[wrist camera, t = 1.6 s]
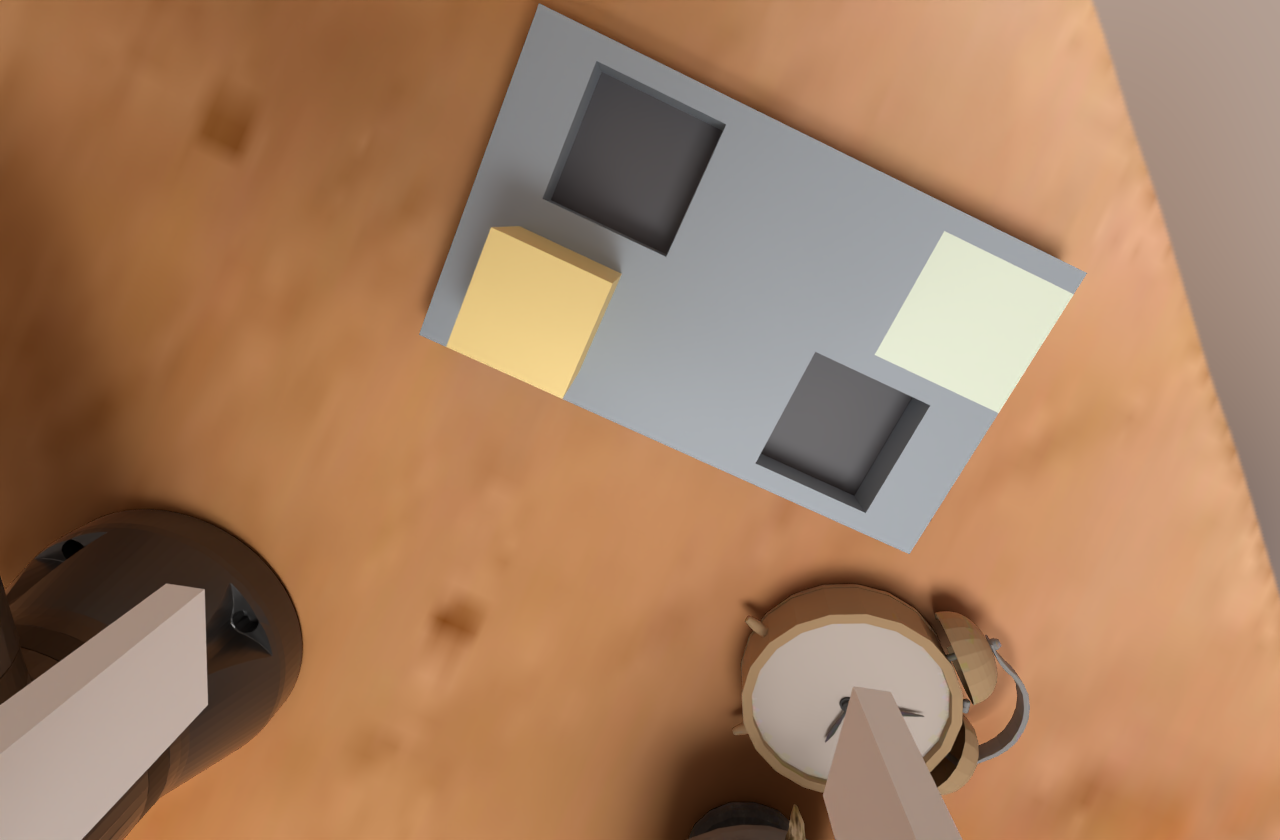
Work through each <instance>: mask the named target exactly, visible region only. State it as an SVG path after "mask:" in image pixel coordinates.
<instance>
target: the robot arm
mask: <svg viewBox="0 0 1280 840" xmlns="http://www.w3.org/2000/svg"><path fill="white" fill-rule="evenodd" d="M301 659H302V638H301V631H300V626H299V622H298V619H297V615H296V612H295V610H294V607H293V605H292V602H291V600H290V598H289V596H288V594H287V593H286V591H285V589H284V587H283V586H282V584H281V583H280V581H279V580H278V578H277V577H276V576H275V574H274V573H273V572H272V571H271V569H270V568H269V567H268V566H267V565H266V564H265V563H264V562H263V561H262V560H261V559H260V558H259V557H258V556H257V555H256V554H255V553H254V552H253V551H252V550H251V549H249V548H248V547H247V546H246V545H244V544H243V543H242V542H240V541H239V540H238V539H236V538H235V537H233V536H232V535H230V534H228V533H227V532H225V531H223V530H221V529H219V528H218V527H216V526H214V525H211V524H209V523H207V522H205V521H202V520H199V519H197V518H194V517H191V516H188V515H184V514H180V513H176V512H170V511H164V510H153V509H137V510H127V511H121V512H116V513H112V514H109V515H106V516H103V517H100V518H98V519H96V520H94V521H91V522H89V523H88V524H86V525H84V526H82V527H80V528H78V529H76V530H74V531H72V532H70V533H68V534H66V535H65V536H63V537H61V538H59V539H58V540H56V541H55V542H53V543H52V544H50V545H49V546H48V547H46V548H45V549H44V550H42V551H41V552H40V553H39V554H38V555H37V556H36V557H35V558H34V559H33V560H32V561H31V562H30V563H29V564H28V565H27V566H26V568H25V569H24V570H23V571H22V572H21V573H20V574H19V575H18V576H17V577H16V579H15V580H14V581H13V582H12V583H11V584H10V585H9V586H8V587H7V588H6V589H5V590H4V587H3V583H2V580H1V577H0V840H123V839H124V838H125V837H126V836H127V835H128V833H129V832H130V831H131V830H132V829H133V827H134V826H135V825H136V824H137V823H138V822H139V820H140V819H141V818H142V817H143V816H144V815H145V814H146V813H147V812H148V810H149V809H150V808H151V807H152V806H153V805H154V804H155V803H156V802H157V801H158V799H159V798H160V797H162V796H164V795H165V794H167V793H168V792H170V791H172V790H173V789H175V788H177V787H178V786H180V785H181V784H183V783H185V782H186V781H188V780H189V779H191V778H193V777H194V776H196V775H197V774H199V773H201V772H202V771H204V770H205V769H207V768H209V767H210V766H212V765H213V764H215V763H217V762H218V761H220V760H222V759H223V758H225V757H226V756H228V755H229V754H231V753H233V752H234V751H236V750H237V749H239V748H241V747H242V746H244V745H245V744H246V743H248V742H249V741H250V740H251V739H252V738H254V737H255V736H256V735H257V734H258V733H259V732H260V731H261V730H262V729H263V728H264V727H265V726H266V724H267V723H268V722H269V721H270V719H271V718H272V717H273V716H274V714H275V713H276V712H277V711H278V710H279V708H280V707H281V706H282V705H283V703H284V702H285V701H286V699H287V698H288V696H289V695H290V693H291V691H292V690H293V688H294V685H295V683H296V681H297V678H298V675H299V671H300V666H301ZM823 798H824V801H825V805H826V808H827V812H828V816H829V819H830V823H831V826H832V830H833V834H834V837H835V840H962V838H961V836H960V834H959V832H958V830H957V827H956V825H955V823H954V821H953V819H952V817H951V815H950V813H949V811H948V809H947V807H946V805H945V803H944V801H943V799H942V797H941V795H940V792H939V790H938V788H937V786H936V784H935V782H934V780H933V778H932V776H931V774H930V772H929V770H928V768H927V766H926V764H925V762H924V759H923V757H922V755H921V753H920V751H919V749H918V747H917V745H916V743H915V741H914V739H913V737H912V735H911V733H910V731H909V729H908V726H907V724H906V722H905V720H904V718H903V716H902V714H901V712H900V710H899V708H898V706H897V704H896V702H895V700H894V698H893V696H892V693H891V692H889V691H882V690H875V689H869V688H862V687H855V686H853V689H852V693H851V696H850V700H849V703H848V707H847V711H846V714H845V718H844V721H843V725H842V729H841V732H840V736H839V739H838V743H837V746H836V750H835V754H834V757H833V761H832V764H831V768H830V772H829V775H828V779H827V782H826V786H825V790H824V793H823Z"/></svg>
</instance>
